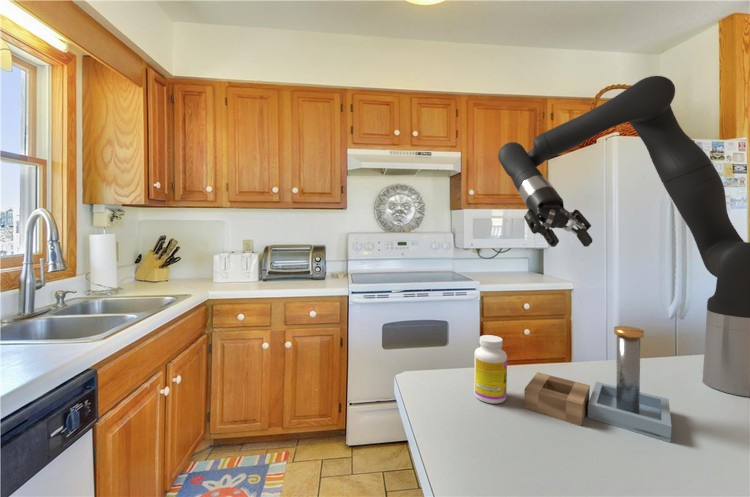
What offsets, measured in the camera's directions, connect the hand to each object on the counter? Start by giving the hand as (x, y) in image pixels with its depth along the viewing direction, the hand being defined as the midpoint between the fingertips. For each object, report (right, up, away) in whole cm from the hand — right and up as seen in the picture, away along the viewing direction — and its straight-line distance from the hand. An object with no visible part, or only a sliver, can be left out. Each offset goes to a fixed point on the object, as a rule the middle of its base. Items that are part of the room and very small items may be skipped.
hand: (572, 244), depth 76 cm
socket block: (-7, -33, -7) cm, 34 cm away
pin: (+5, -32, -10) cm, 34 cm away
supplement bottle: (-20, -33, -3) cm, 39 cm away
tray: (+5, -33, -10) cm, 35 cm away
